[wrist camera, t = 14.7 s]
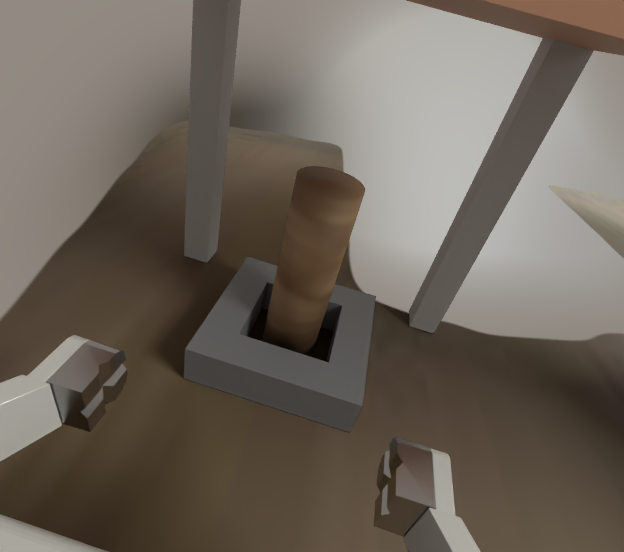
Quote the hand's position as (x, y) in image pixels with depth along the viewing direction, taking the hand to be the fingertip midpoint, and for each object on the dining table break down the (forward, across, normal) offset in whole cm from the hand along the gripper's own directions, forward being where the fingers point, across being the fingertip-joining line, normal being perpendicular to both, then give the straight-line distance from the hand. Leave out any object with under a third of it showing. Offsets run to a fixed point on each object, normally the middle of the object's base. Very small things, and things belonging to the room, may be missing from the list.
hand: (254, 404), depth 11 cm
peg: (+12, 0, +10) cm, 15 cm away
